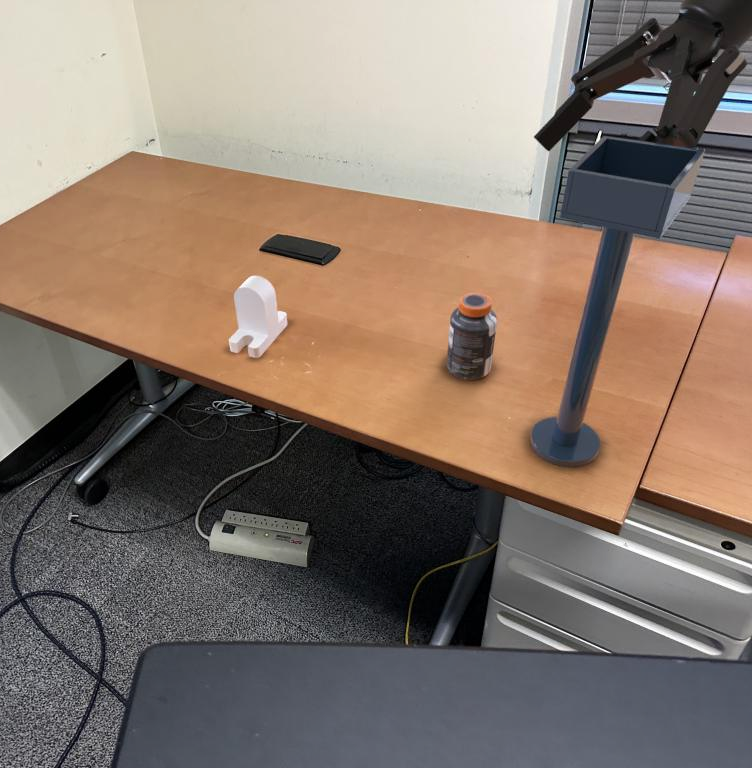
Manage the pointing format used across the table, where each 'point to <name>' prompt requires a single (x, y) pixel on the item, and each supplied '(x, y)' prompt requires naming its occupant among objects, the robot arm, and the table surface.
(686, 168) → the square tray stand
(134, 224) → the table surface
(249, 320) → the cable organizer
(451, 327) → the pill bottle
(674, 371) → the table surface
